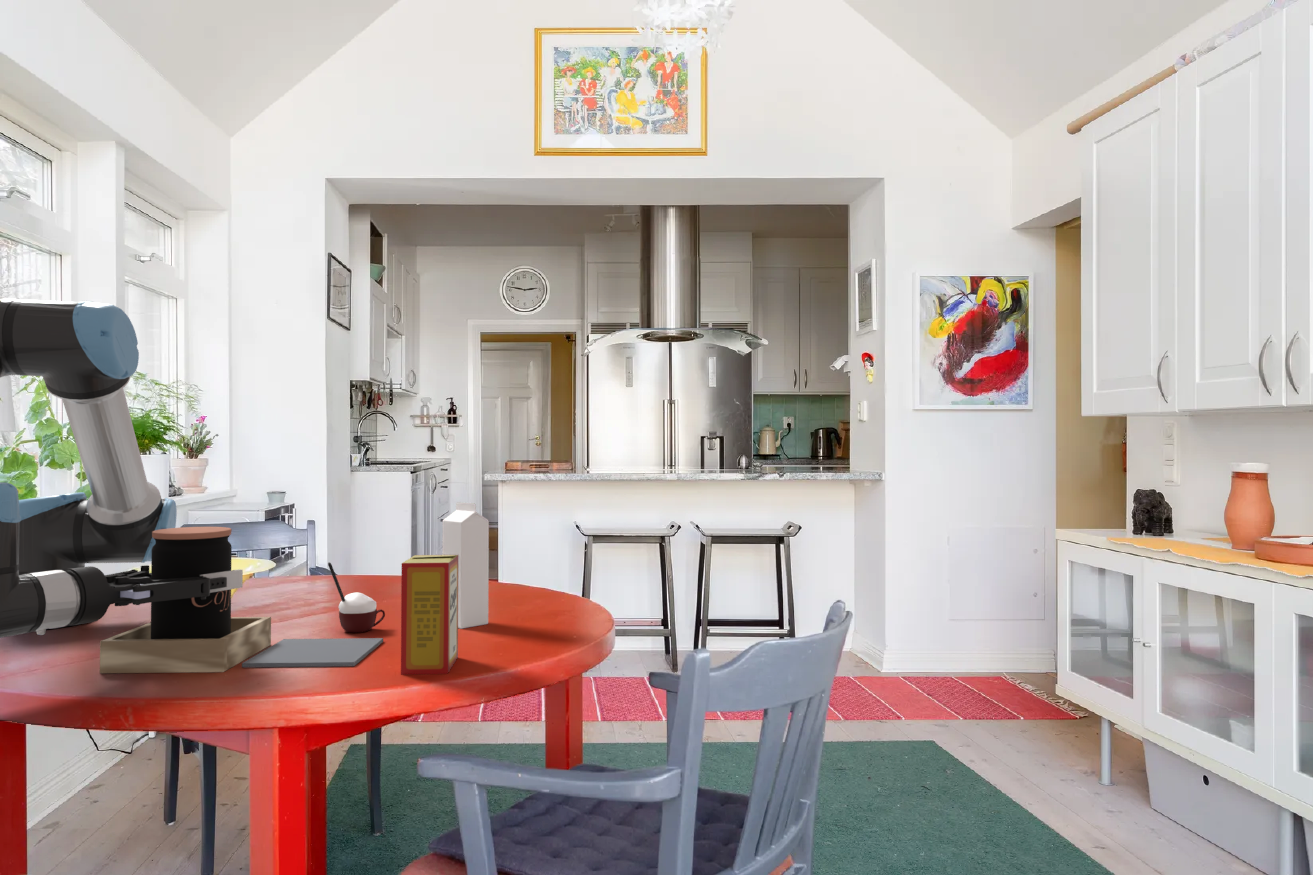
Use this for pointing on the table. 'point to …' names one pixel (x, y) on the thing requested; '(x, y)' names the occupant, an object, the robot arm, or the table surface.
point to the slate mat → (314, 652)
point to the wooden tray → (184, 649)
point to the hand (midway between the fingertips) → (216, 575)
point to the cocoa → (356, 610)
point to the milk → (469, 561)
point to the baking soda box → (429, 614)
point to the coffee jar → (182, 559)
